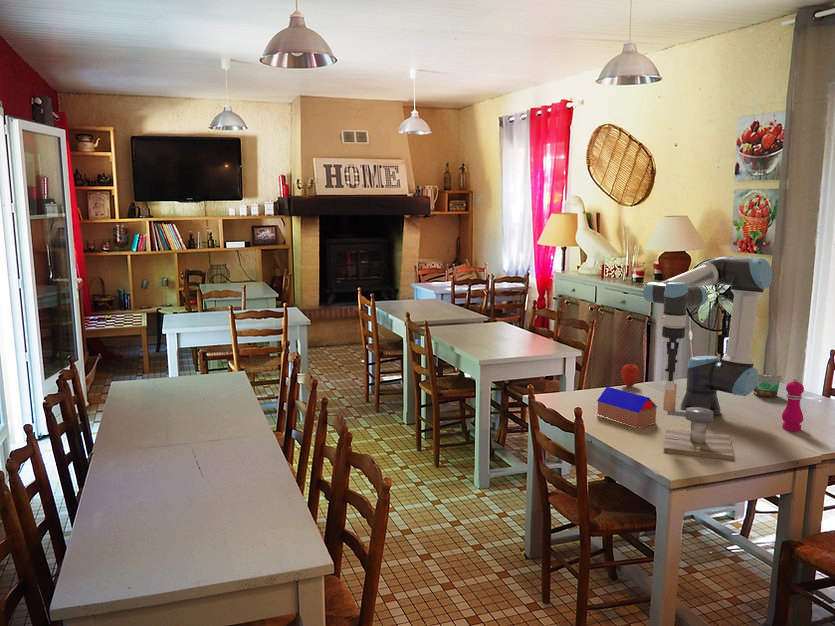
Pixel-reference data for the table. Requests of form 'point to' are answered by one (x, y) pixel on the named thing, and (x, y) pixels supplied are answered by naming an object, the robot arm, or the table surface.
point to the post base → (706, 449)
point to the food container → (767, 386)
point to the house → (627, 407)
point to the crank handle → (691, 413)
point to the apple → (630, 374)
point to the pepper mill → (793, 407)
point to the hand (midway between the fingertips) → (670, 385)
